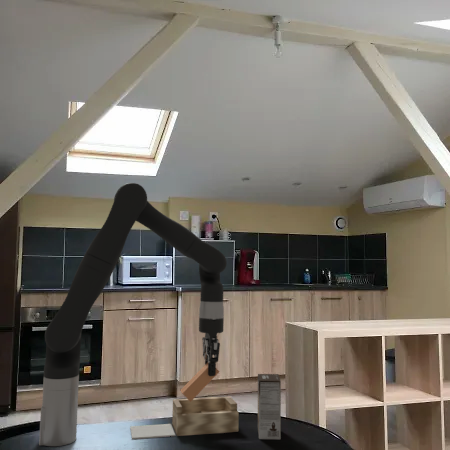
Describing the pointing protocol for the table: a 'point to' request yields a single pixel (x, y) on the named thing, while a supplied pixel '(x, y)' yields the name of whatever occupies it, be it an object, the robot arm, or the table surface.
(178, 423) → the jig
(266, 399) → the coffee box
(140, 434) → the mat
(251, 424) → the table surface
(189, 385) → the orange rectangular block
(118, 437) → the table surface
